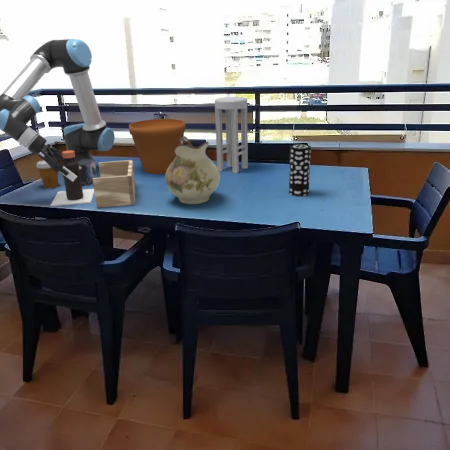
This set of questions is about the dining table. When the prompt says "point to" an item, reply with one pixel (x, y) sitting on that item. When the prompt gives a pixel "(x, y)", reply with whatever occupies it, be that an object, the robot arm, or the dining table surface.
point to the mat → (62, 200)
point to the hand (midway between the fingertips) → (77, 174)
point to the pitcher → (192, 173)
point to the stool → (231, 132)
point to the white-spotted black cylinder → (299, 169)
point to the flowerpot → (156, 142)
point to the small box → (87, 171)
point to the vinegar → (72, 165)
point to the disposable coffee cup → (47, 175)
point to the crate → (115, 184)
